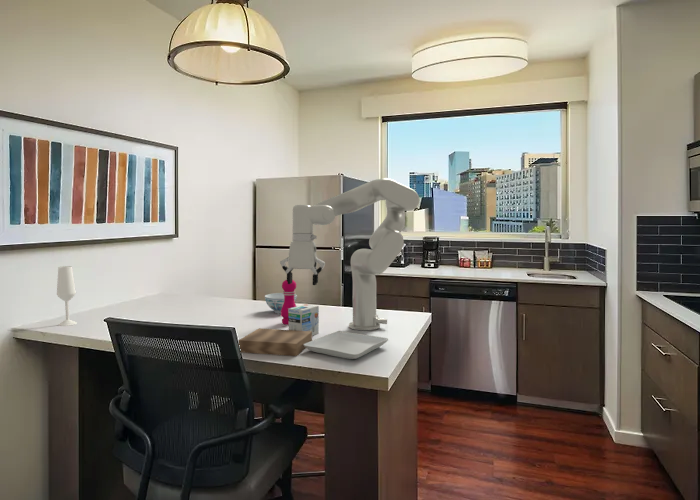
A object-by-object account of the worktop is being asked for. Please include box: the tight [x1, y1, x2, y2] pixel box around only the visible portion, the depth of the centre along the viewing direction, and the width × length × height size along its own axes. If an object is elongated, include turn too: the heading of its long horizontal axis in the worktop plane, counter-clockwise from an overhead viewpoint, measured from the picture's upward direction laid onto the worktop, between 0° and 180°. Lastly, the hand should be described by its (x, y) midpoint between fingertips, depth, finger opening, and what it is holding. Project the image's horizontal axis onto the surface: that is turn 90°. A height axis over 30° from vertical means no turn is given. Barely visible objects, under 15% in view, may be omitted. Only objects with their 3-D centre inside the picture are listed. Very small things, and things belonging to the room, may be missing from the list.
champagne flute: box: [56, 265, 78, 327], centre depth 182 cm, size 7×7×24 cm
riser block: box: [238, 327, 313, 357], centre depth 149 cm, size 20×16×4 cm
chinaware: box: [264, 292, 298, 314], centre depth 206 cm, size 15×15×8 cm
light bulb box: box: [288, 303, 320, 337], centre depth 164 cm, size 11×7×11 cm, turn 148°
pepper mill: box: [280, 279, 297, 326], centre depth 183 cm, size 7×7×20 cm
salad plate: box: [303, 330, 389, 360], centre depth 146 cm, size 21×21×3 cm
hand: (302, 284), depth 163 cm, fingers open, 9 cm apart
